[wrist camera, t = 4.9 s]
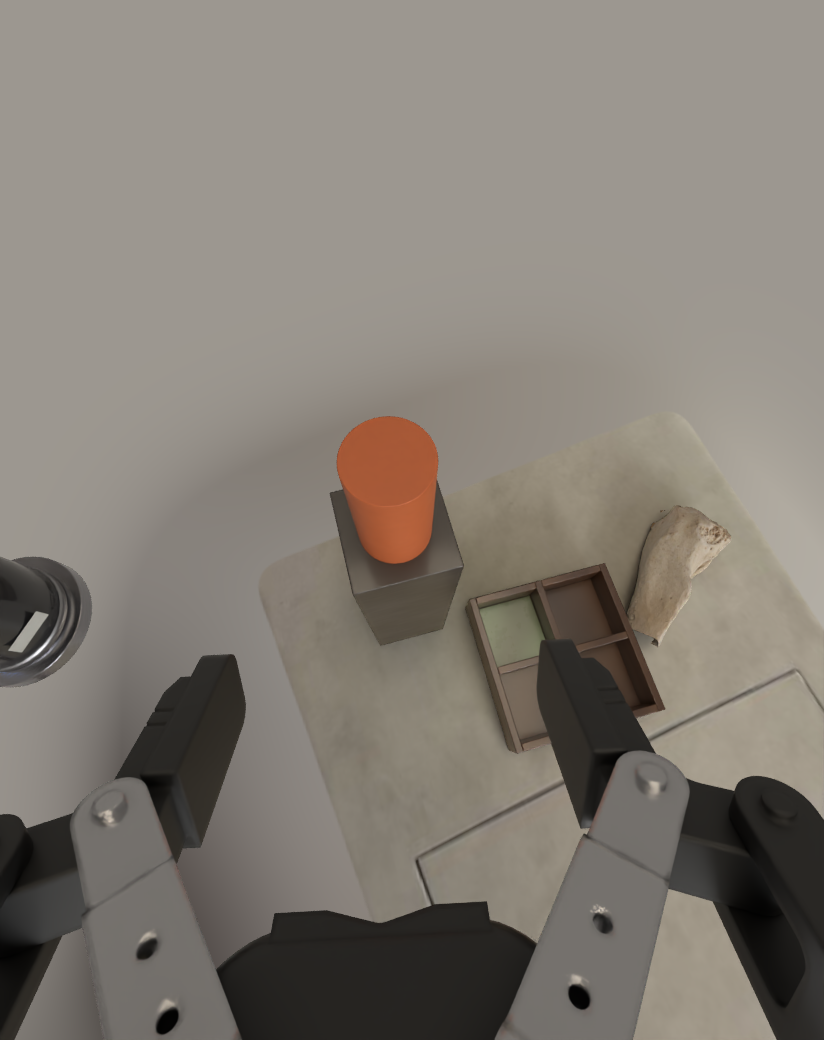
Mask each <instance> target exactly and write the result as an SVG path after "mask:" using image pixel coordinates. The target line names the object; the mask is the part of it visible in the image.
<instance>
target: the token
mask: <svg viewBox="0 0 824 1040" xmlns="http://www.w3.org/2000/svg"><path fill="white" fill-rule="evenodd" d="M437 470H438V454H437V450H436V447H435V444H434V442H433V440H432V439H431V437H430V436H429V435H428V433H427V432H425V431H424V429H422V428H421V427H420V426H418V425H417V424H415V423H414V422H411V421H409V420H407V419H403V418H399V417H390V416H387V417H378V418H373V419H371V420H368V421H365V422H363V423H361V424H360V425H358V426H357V427H355V428H354V429H353V430H352V431H351V432H349V434H348V435H347V436H346V437H345V439H344V440H343V442H342V444H341V446H340V448H339V451H338V455H337V471H338V475H339V478H340V481H341V484H342V487H343V490H344V493H345V496H346V499H347V502H348V505H349V508H350V512H351V515H352V518H353V521H354V524H355V527H356V530H357V533H358V536H359V539H360V542H361V544H362V546H363V547H364V549H365V550H366V551H367V552H368V553H369V554H370V555H371V556H372V557H374V558H375V559H377V560H379V561H382V562H385V563H392V564H397V563H404V562H407V561H410V560H412V559H414V558H415V557H417V556H418V555H419V554H421V553H422V552H423V551H424V549H425V548H426V547H427V545H428V543H429V541H430V538H431V534H432V524H433V513H434V503H435V492H436V481H437Z"/></svg>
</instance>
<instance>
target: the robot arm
mask: <svg viewBox="0 0 824 1040" xmlns="http://www.w3.org/2000/svg"><path fill="white" fill-rule="evenodd" d="M66 616H67V598H66V594H65V591H64V589H63V587H62V586H61V584H60V583H59V582H58V581H57V580H56V579H55V578H54V577H53V576H51V575H50V574H48V573H46V572H43V571H41V570H38V569H35V568H30V567H26V566H24V565H21V564H18V563H16V562H13V561H11V560H8V559H5V558H3V557H0V671H11V670H15V669H19V668H21V667H24V666H26V665H28V664H30V663H32V662H34V661H35V660H37V659H38V658H39V657H41V656H42V655H43V654H44V653H45V652H46V651H47V650H48V649H49V648H50V647H51V646H52V645H53V644H54V642H55V641H56V640H57V638H58V636H59V635H60V633H61V631H62V629H63V626H64V624H65V620H66ZM537 700H538V705H539V709H540V712H541V715H542V718H543V721H544V724H545V727H546V730H547V732H548V735H549V738H550V741H551V744H552V747H553V750H554V753H555V756H556V759H557V761H558V764H559V767H560V770H561V773H562V776H563V779H564V782H565V785H566V788H567V790H568V793H569V796H570V799H571V802H572V805H573V808H574V811H575V814H576V817H577V819H578V822H579V825H580V828H590V829H589V831H588V833H587V835H586V834H583V836H582V837H581V839H580V841H579V844H578V846H577V848H576V851H575V853H574V856H573V858H572V861H571V863H570V865H569V868H568V870H567V873H566V875H565V878H564V880H563V882H562V885H561V887H560V890H559V892H558V895H557V897H556V899H555V902H554V904H553V907H552V909H551V912H550V914H549V916H548V919H547V921H546V924H545V926H544V929H543V931H542V934H541V936H540V938H539V941H538V943H536V942H534V941H533V940H532V939H530V938H529V937H527V936H526V935H525V934H523V933H521V932H519V931H517V930H516V929H514V928H512V927H510V926H507V925H505V924H502V923H500V922H496V921H492V920H490V919H489V912H488V905H487V901H486V902H468V903H451V904H435V905H432V906H429V907H426V908H423V909H421V910H418V911H415V912H412V913H410V914H407V915H404V916H401V917H398V918H396V919H393V920H390V921H387V922H384V923H375V922H371V921H367V920H363V919H359V918H355V917H351V916H347V915H343V914H339V913H335V912H331V911H327V910H326V911H308V912H291V913H275V914H274V919H273V924H272V930H271V933H270V934H267V935H265V936H262V937H260V938H258V939H256V940H254V941H252V942H250V943H249V944H247V945H246V946H244V947H243V948H241V949H240V950H238V951H237V952H236V953H234V954H233V955H232V956H231V957H229V958H228V959H227V960H226V961H224V962H223V963H222V964H221V965H220V966H219V967H218V968H217V969H215V966H214V964H213V961H212V958H211V956H210V953H209V950H208V948H207V945H206V943H205V940H204V937H203V934H202V932H201V929H200V927H199V924H198V921H197V918H196V916H195V913H194V911H193V908H192V905H191V902H190V900H189V897H188V895H187V892H186V889H185V886H184V884H183V881H182V879H181V876H180V873H179V871H178V868H177V865H176V864H177V862H178V859H179V856H180V854H181V851H182V848H199V847H201V845H202V842H203V839H204V836H205V833H206V830H207V828H208V825H209V822H210V819H211V816H212V813H213V810H214V807H215V804H216V801H217V799H218V796H219V793H220V790H221V787H222V784H223V781H224V779H225V775H226V773H227V770H228V767H229V764H230V761H231V758H232V755H233V752H234V750H235V747H236V744H237V741H238V738H239V735H240V732H241V730H242V727H243V723H244V718H245V710H246V703H245V696H244V692H243V688H242V683H241V679H240V674H239V670H238V665H237V661H236V658H235V656H234V655H232V654H228V655H208V656H203V657H201V659H200V660H199V662H198V664H197V666H196V668H195V670H194V672H193V674H192V676H191V677H180V678H179V679H178V680H177V681H176V682H175V683H174V684H173V685H172V686H171V687H169V688H168V689H167V690H166V691H165V692H164V694H163V695H162V697H161V699H160V701H159V702H158V704H157V706H156V708H155V712H153V713H152V715H151V716H150V718H149V720H148V722H147V726H146V727H144V729H143V731H142V732H141V734H140V736H139V738H138V739H137V741H136V743H135V745H134V746H133V748H132V750H131V752H130V753H129V755H128V757H127V759H126V760H125V762H124V764H123V766H122V767H121V769H120V771H119V773H118V774H117V776H116V778H115V779H114V780H112V781H110V782H107V783H105V784H103V785H101V786H100V787H98V788H96V789H95V790H94V791H92V792H91V793H90V794H88V795H87V796H86V797H85V798H84V799H83V800H82V801H81V802H80V804H79V805H78V806H77V808H76V809H75V811H74V813H72V814H69V815H66V816H63V817H60V818H57V819H55V820H51V821H48V822H45V823H42V824H39V825H36V826H33V827H30V828H26V827H25V826H24V824H23V822H22V820H21V819H20V818H19V817H17V816H15V815H11V814H3V815H0V1040H14V1039H15V1037H16V1035H17V1033H18V1031H19V1028H20V1026H21V1024H22V1022H23V1020H24V1018H25V1015H26V1013H27V1011H28V1009H29V1007H30V1005H31V1002H32V1000H33V998H34V996H35V994H36V992H37V990H38V987H39V985H40V983H41V981H42V979H43V977H44V974H45V972H46V970H47V968H48V966H49V964H50V961H51V959H52V957H53V954H54V953H55V951H56V948H57V946H58V944H59V942H60V940H61V937H62V935H65V934H67V933H70V932H73V931H75V930H78V929H80V928H83V933H84V938H85V943H86V949H87V954H88V959H89V965H90V970H91V975H92V980H93V986H94V991H95V997H96V1002H97V1007H98V1012H99V1018H100V1023H101V1029H102V1034H103V1039H104V1040H633V1037H634V1033H635V1029H636V1024H637V1020H638V1016H639V1012H640V1007H641V1003H642V999H643V994H644V990H645V986H646V982H647V977H648V973H649V969H650V965H651V960H652V956H653V952H654V948H655V943H656V939H657V935H658V931H659V926H660V922H661V918H662V914H663V909H664V905H665V901H666V897H667V892H668V889H671V890H675V891H678V892H682V893H685V894H689V895H692V896H696V897H699V898H703V899H706V900H710V901H713V903H714V905H715V907H716V910H717V912H718V914H719V916H720V918H721V920H722V923H723V925H724V927H725V929H726V931H727V933H728V936H729V938H730V940H731V942H732V944H733V946H734V948H735V951H736V953H737V955H738V957H739V959H740V961H741V964H742V966H743V968H744V970H745V972H746V974H747V977H748V979H749V981H750V983H751V985H752V987H753V990H754V992H755V994H756V996H757V998H758V1000H759V1002H760V1005H761V1007H762V1009H763V1011H764V1013H765V1015H766V1018H767V1020H768V1022H769V1024H770V1026H771V1028H772V1031H773V1033H774V1035H775V1037H776V1039H777V1040H824V819H823V818H822V817H821V815H820V814H819V813H818V811H817V810H816V809H815V807H814V806H813V805H812V804H811V803H810V802H809V801H808V800H807V799H806V798H805V797H804V796H803V795H802V794H800V793H799V792H798V791H796V790H795V789H793V788H792V787H790V786H788V785H786V784H784V783H782V782H780V781H777V780H775V779H771V778H768V777H762V776H750V777H746V778H744V779H742V780H741V781H740V782H739V783H738V784H737V786H736V788H735V791H732V790H728V789H723V788H719V787H714V786H710V785H706V784H701V783H698V782H694V781H692V780H689V779H687V778H685V776H684V775H683V773H682V772H681V771H680V770H679V769H678V768H677V767H676V766H675V765H674V764H673V763H672V762H670V761H669V760H667V759H666V758H664V757H662V756H660V755H657V754H656V753H655V751H654V749H653V748H652V746H651V744H650V742H649V741H648V739H647V737H646V735H645V733H644V732H643V730H642V728H641V726H640V725H639V723H638V721H637V719H636V717H635V716H634V714H633V712H632V710H631V708H630V707H629V705H628V703H626V700H625V698H624V696H623V694H622V692H621V691H620V690H619V689H618V685H617V684H616V682H615V680H614V678H613V676H612V675H611V673H610V671H609V670H608V669H607V668H605V667H604V666H603V665H602V664H601V663H599V662H598V661H597V660H596V659H595V658H581V656H580V654H579V652H578V650H577V648H576V646H575V644H574V642H573V641H572V640H571V639H551V640H542V641H541V643H540V650H539V662H538V674H537Z"/></svg>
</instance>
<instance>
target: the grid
mask: <svg viewBox="0 0 824 1040" xmlns="http://www.w3.org/2000/svg"><path fill="white" fill-rule="evenodd" d="M465 608H466V611H467V614H468V618H469V621H470V624H471V628H472V631H473V634H474V637H475V641H476V644H477V647H478V650H479V654H480V657H481V660H482V664H483V667H484V670H485V673H486V677H487V680H488V683H489V687H490V690H491V693H492V696H493V700H494V703H495V706H496V709H497V713H498V716H499V719H500V723H501V726H502V729H503V732H504V736H505V739H506V742H507V746H508V749H509V750H510V751H512V752H515V753H517V754H518V753H521V752H523V751H528V750H531V749H534V748H538V747H541V746H544V745H548V744H551V741H550V738H549V735H548V732H547V730H546V727H545V724H544V721H543V718H542V715H541V712H540V709H539V705H538V700H537V674H538V662H539V650H540V643H541V641H542V640H551V639H571V640H572V641H573V642H574V644H575V646H576V648H577V650H578V652H579V654H580V656H581V658H595V659H596V660H597V661H598V662H599V663H601V664H602V665H603V666H604V667H605V668H607V669H608V670H609V671H610V673H611V675H612V676H613V678H614V680H615V682H616V684H617V685H618V689H619V690H620V691H621V692H622V694H623V696H624V698H625V700H626V703H628V705H629V707H630V708H631V710H632V712H633V714H634V716H635V717H636V718H638V717H642V716H645V715H649V714H652V713H655V712H658V711H662V710H665V707H664V705H663V702H662V700H661V697H660V695H659V693H658V690H657V688H656V685H655V683H654V681H653V678H652V676H651V673H650V671H649V669H648V666H647V664H646V661H645V659H644V657H643V654H642V652H641V649H640V647H639V644H638V642H637V640H636V637H635V635H634V632H633V630H632V628H631V625H630V623H629V620H628V618H627V616H626V613H625V611H624V608H623V606H622V603H621V601H620V599H619V596H618V594H617V591H616V589H615V587H614V584H613V582H612V579H611V577H610V575H609V572H608V570H607V567H606V565H605V563H603V564H599V565H596V566H592V567H588V568H585V569H581V570H577V571H573V572H570V573H566V574H562V575H559V576H555V577H551V578H547V579H544V580H540V581H536V582H532V583H529V584H525V585H521V586H518V587H514V588H510V589H506V590H503V591H499V592H495V593H492V594H488V595H484V596H480V597H477V598H473V599H470V600H469V601H468V603H467V605H466V607H465Z"/></svg>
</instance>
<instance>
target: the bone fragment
mask: <svg viewBox="0 0 824 1040" xmlns="http://www.w3.org/2000/svg"><path fill="white" fill-rule="evenodd" d="M664 511H665V510H664ZM660 512H662V511H660ZM730 542H731V535H730V534H729V533H728V531H727V530H726V529H724V528H723V527H722V526H720V525H718V524H717V523H716V522H714V521H712V520H710V519H709V518H708V517H706V516H705V515H704V514H703V513H701V512H700V511H698V510H696V509H694V508H689V507H681V506H679V505H676V506H674V507H673V508H672V509H671V511H670V512H669V513H668V515H666V516H665V517H664V518H662V519H661V520H659V521H657V522H656V523H653V524H652V526H651V529H650V533H649V534H648V537H647V539H646V542H645V546H644V548H643V551H642V557H641V561H640V564H639V573H638V578H637V583H636V587H635V591H634V595H633V597H632V600H631V603H630V605H629V609H628V611H627V618H628V620H629V623H630V625H631V628H632V629H633V630H636V631H639V632H642V633H644V634H646V635H649V636H651V637H653V639H654V640H653V641H652V643H651V644H653V645H655V646H656V647H658V646H659V645H660V644H661V641H662V639H663V637H664V635H665V633H666V631H667V629H668V628H669V626H670V624H671V623H672V621H673V620H674V619H675V618H676V616H677V614H678V612H679V611H680V610H681V608H682V607H683V606H684V605H685V603H686V602H687V600H688V599H689V597H690V595H691V586H692V583H691V579H692V578H693V577H694V576H696V575H698V574H699V573H700V572H702V571H703V570H704V569H705V568H706V567H707V566H708V565H709V564H710V563H711V562H712V560H713V558H715V557H716V556H717V555H718V554H719V552H720V550H722V549H723V548H724V547H725V546H726V545H727V544H729V543H730Z"/></svg>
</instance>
